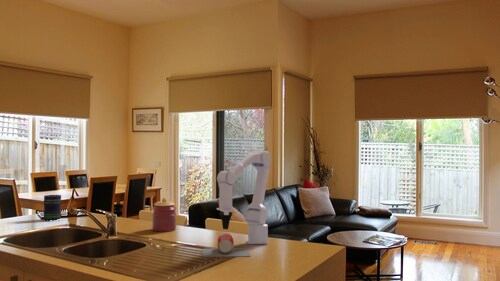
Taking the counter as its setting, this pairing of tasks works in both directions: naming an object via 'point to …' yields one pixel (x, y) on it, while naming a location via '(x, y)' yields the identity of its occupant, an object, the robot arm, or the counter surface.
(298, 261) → the counter surface
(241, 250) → the mat
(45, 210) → the storage jar
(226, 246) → the soda can
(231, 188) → the robot arm
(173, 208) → the canister
